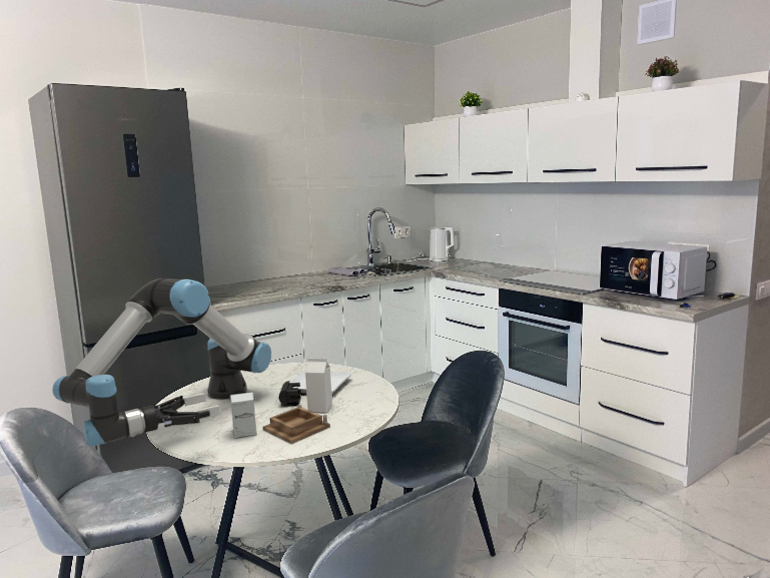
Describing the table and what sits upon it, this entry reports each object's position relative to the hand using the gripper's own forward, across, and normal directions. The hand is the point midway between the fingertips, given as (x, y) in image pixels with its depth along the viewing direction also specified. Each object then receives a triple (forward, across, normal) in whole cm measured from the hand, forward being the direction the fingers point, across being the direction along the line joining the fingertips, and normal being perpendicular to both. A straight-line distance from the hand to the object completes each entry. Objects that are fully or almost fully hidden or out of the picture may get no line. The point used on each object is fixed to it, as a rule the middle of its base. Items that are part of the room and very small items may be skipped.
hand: (211, 403), depth 186 cm
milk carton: (+40, -1, -13) cm, 42 cm away
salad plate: (+50, -22, -13) cm, 56 cm away
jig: (+25, +8, -13) cm, 29 cm away
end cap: (+34, -15, -13) cm, 39 cm away
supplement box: (+10, 0, -13) cm, 17 cm away
